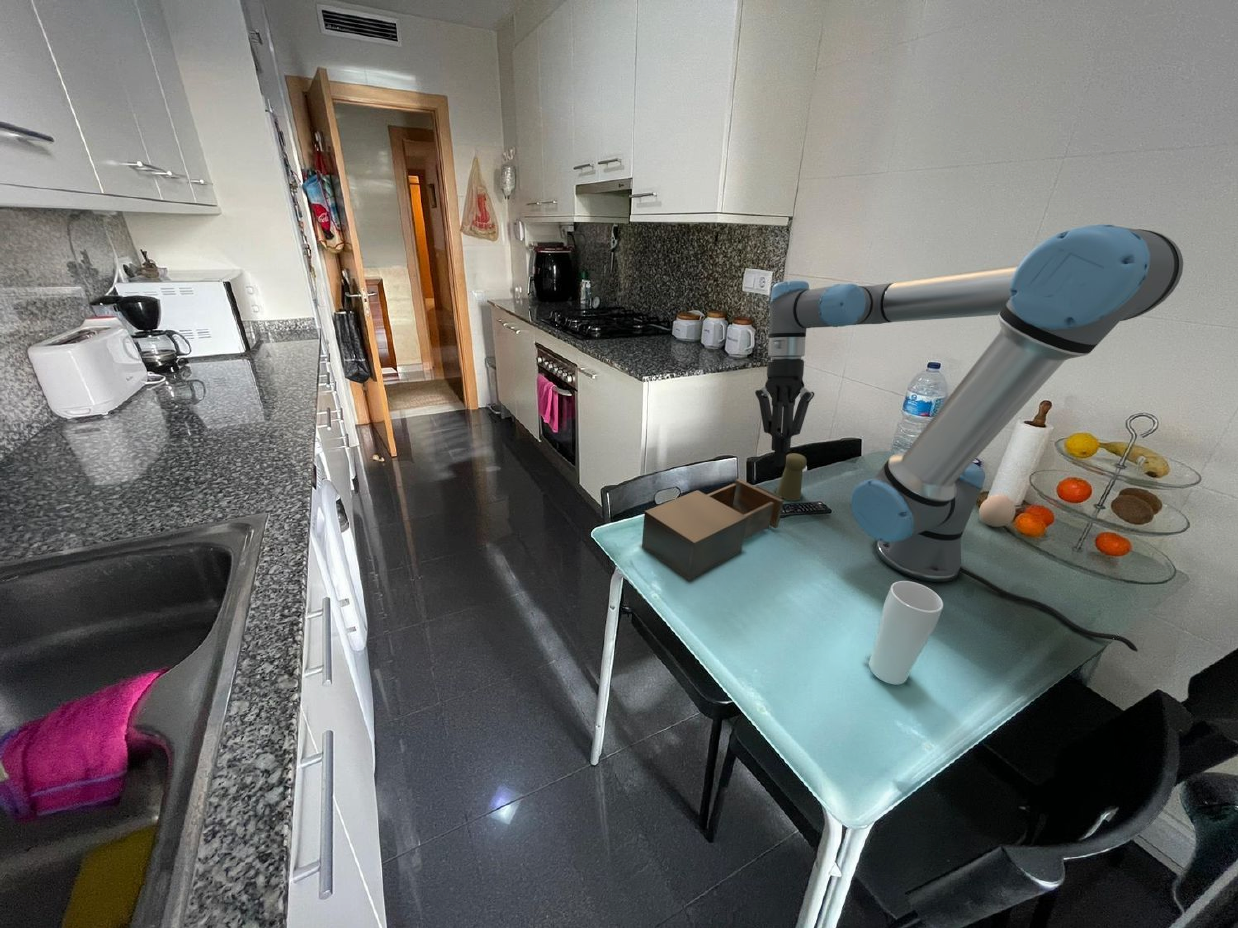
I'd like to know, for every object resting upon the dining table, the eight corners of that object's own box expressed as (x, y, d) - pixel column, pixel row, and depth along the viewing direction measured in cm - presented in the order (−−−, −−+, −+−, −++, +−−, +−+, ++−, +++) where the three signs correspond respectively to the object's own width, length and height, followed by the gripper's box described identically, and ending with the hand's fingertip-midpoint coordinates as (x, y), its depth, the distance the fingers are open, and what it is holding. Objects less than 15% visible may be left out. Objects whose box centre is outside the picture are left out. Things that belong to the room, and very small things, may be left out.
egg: (977, 514, 122) (989, 486, 119) (1010, 525, 118) (1023, 496, 115) (971, 524, 118) (983, 495, 115) (1005, 536, 114) (1018, 506, 110)
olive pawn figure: (802, 502, 124) (811, 462, 119) (776, 498, 125) (785, 459, 120) (799, 490, 129) (808, 452, 124) (775, 487, 130) (783, 449, 125)
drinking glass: (856, 671, 76) (883, 594, 70) (871, 648, 81) (898, 573, 74) (904, 698, 72) (937, 619, 66) (917, 672, 77) (949, 595, 70)
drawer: (746, 498, 123) (750, 473, 120) (790, 520, 114) (796, 494, 111) (692, 522, 111) (696, 495, 108) (736, 548, 103) (742, 520, 100)
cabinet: (693, 523, 113) (697, 489, 109) (741, 552, 103) (748, 516, 100) (641, 546, 103) (644, 511, 100) (689, 580, 94) (694, 543, 90)
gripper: (749, 358, 109) (745, 464, 114) (807, 358, 100) (799, 472, 105) (767, 358, 114) (762, 459, 119) (823, 357, 105) (815, 467, 110)
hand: (779, 465), depth 112 cm, fingers closed
